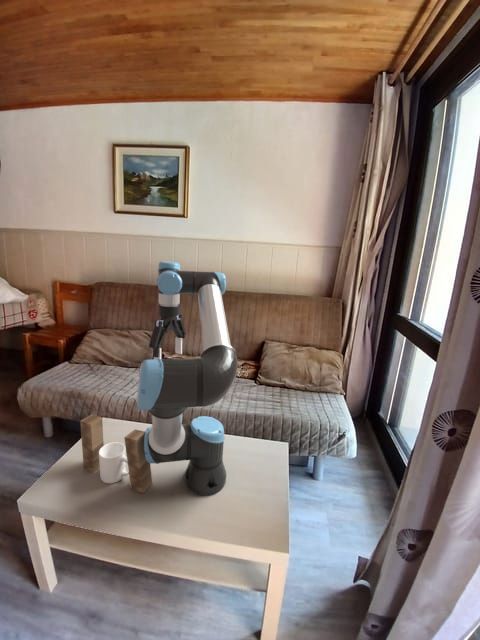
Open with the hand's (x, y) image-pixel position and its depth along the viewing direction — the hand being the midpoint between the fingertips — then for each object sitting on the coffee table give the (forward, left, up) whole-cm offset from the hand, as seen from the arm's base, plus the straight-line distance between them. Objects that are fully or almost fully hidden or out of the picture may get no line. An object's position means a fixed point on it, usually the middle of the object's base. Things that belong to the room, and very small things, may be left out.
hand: (168, 358), depth 117 cm
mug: (+7, +21, -40) cm, 46 cm away
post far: (+18, +21, -40) cm, 48 cm away
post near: (-4, +21, -39) cm, 45 cm away
